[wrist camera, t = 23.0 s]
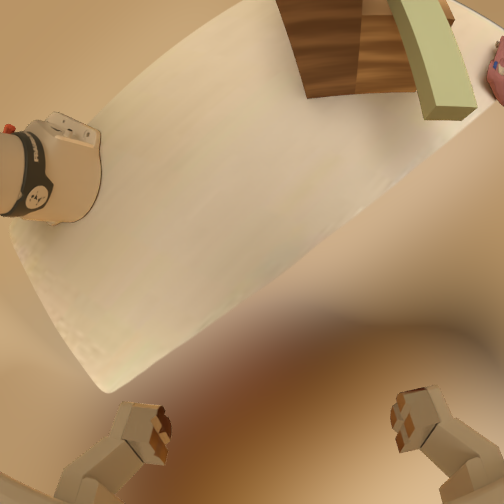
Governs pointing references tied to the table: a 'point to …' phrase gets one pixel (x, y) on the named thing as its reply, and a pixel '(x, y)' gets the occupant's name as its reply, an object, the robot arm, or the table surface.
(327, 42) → the pedestal
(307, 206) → the table surface
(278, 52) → the table surface
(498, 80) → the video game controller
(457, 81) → the bar
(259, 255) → the table surface
